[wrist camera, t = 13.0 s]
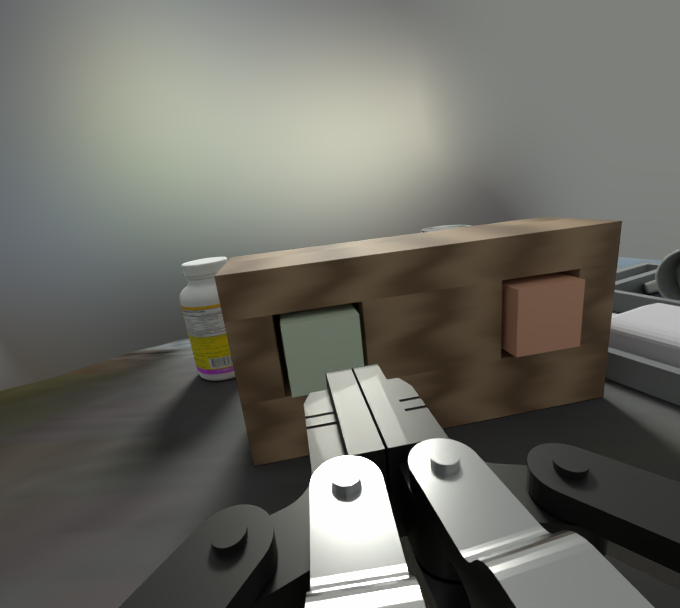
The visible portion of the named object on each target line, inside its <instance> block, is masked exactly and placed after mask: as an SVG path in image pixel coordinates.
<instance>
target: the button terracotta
mask: <svg viewBox="0 0 680 608" xmlns="http://www.w3.org/2000/svg"><path fill="white" fill-rule="evenodd" d="M584 289H585V279H582V278H578V277H574V276H570V275H566V274H562V273H558V272H555V273H548V274H541V275H535V276H528V277H521V278H515V279H508V280H502V329H501V348H503V349H504V350H506V351H507V352H509V353H510V354H512V355H513V356H515V357H522V356H528V355H533V354H539V353H544V352H550V351H556V350H561V349H567V348H573V347H578V346H580V338H581V326H582V314H583V302H584Z"/></svg>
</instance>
